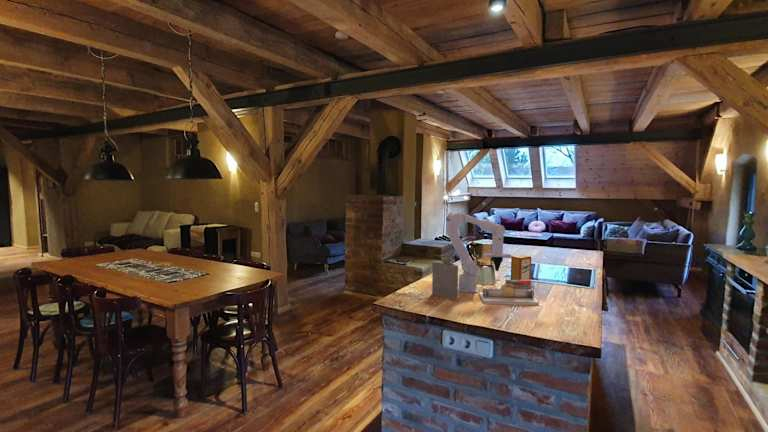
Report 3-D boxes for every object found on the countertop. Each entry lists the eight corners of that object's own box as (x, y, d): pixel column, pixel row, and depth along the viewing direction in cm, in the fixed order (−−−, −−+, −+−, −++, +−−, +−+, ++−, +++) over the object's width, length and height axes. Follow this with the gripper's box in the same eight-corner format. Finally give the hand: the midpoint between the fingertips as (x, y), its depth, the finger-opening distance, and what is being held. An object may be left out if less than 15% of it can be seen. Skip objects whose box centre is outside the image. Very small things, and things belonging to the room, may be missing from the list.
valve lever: (506, 283, 191) (506, 280, 191) (504, 282, 194) (505, 279, 194) (531, 284, 191) (531, 280, 191) (529, 282, 193) (529, 279, 193)
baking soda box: (519, 285, 221) (520, 257, 220) (510, 282, 227) (511, 255, 226) (530, 282, 226) (531, 255, 225) (521, 280, 232) (522, 254, 231)
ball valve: (484, 299, 191) (484, 284, 191) (482, 295, 197) (482, 281, 197) (534, 300, 189) (534, 285, 189) (530, 297, 195) (531, 282, 194)
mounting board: (483, 303, 188) (483, 300, 187) (479, 295, 202) (479, 292, 201) (538, 305, 185) (538, 302, 185) (530, 296, 199) (530, 293, 199)
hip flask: (430, 294, 203) (431, 256, 201) (436, 292, 206) (436, 255, 204) (454, 301, 191) (455, 261, 189) (459, 299, 193) (460, 260, 192)
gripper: (485, 247, 207) (484, 272, 208) (512, 247, 206) (512, 272, 207) (483, 245, 214) (482, 269, 215) (509, 245, 213) (509, 269, 214)
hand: (496, 270), depth 211 cm, fingers closed
